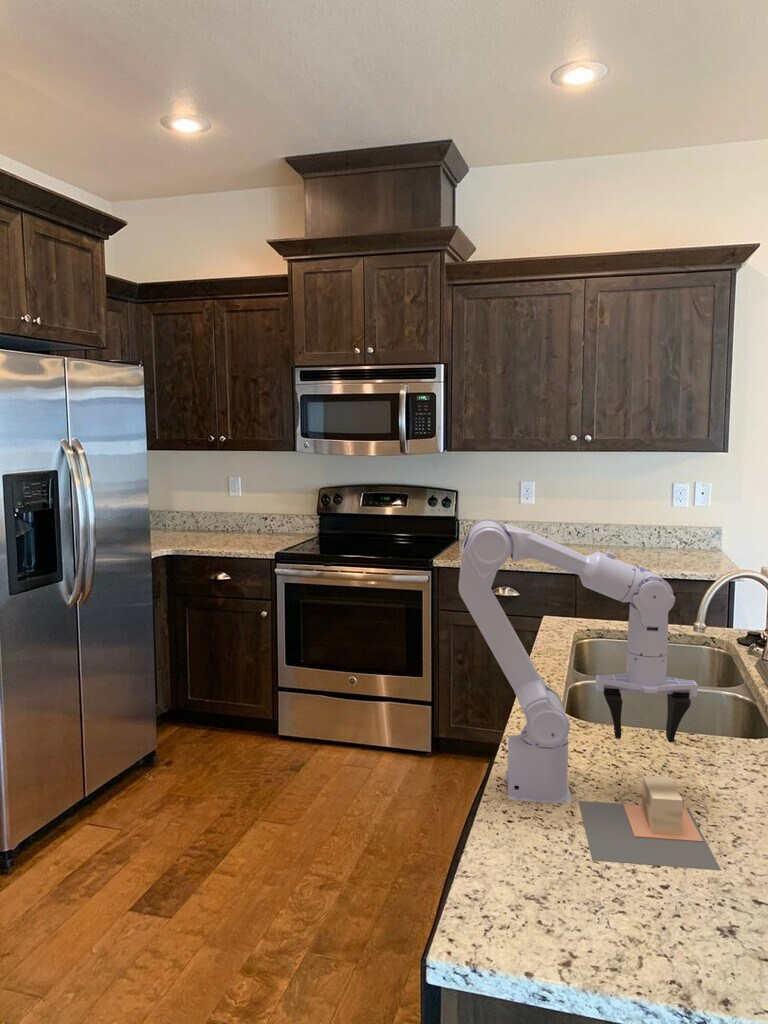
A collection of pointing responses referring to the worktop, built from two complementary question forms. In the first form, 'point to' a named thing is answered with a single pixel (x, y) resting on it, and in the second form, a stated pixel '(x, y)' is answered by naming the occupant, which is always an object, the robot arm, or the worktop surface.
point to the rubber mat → (642, 838)
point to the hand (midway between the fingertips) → (643, 738)
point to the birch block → (662, 805)
